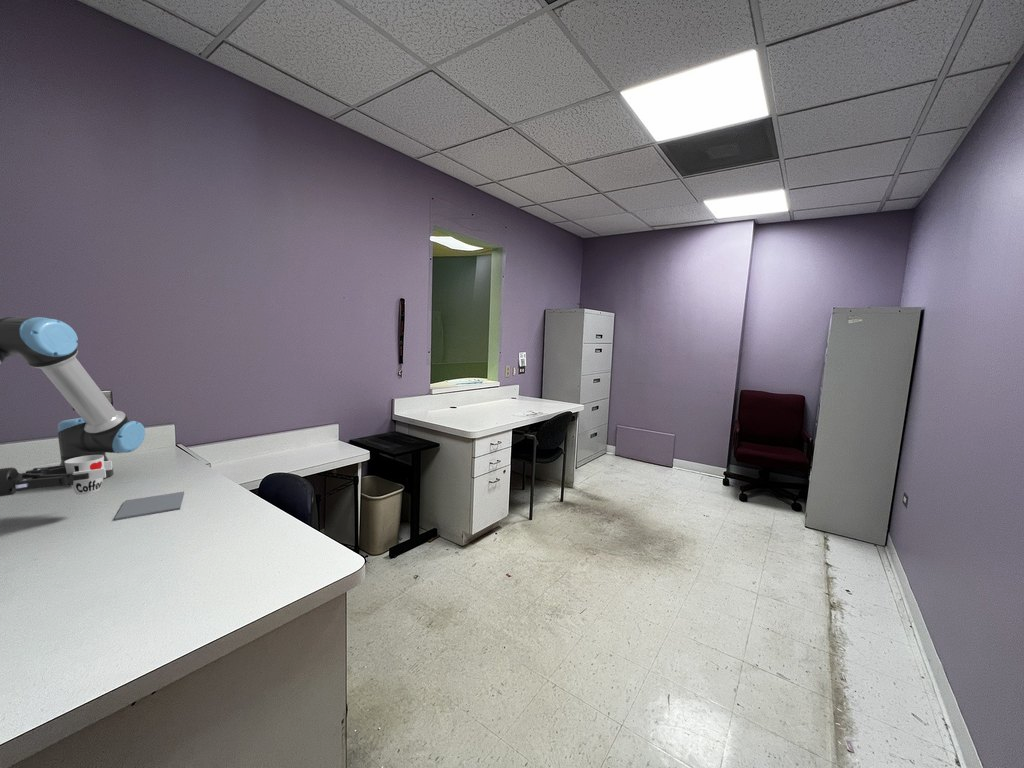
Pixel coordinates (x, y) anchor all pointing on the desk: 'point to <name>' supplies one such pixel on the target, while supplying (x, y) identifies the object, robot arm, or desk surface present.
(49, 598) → the desk surface
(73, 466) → the cup
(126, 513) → the mat
